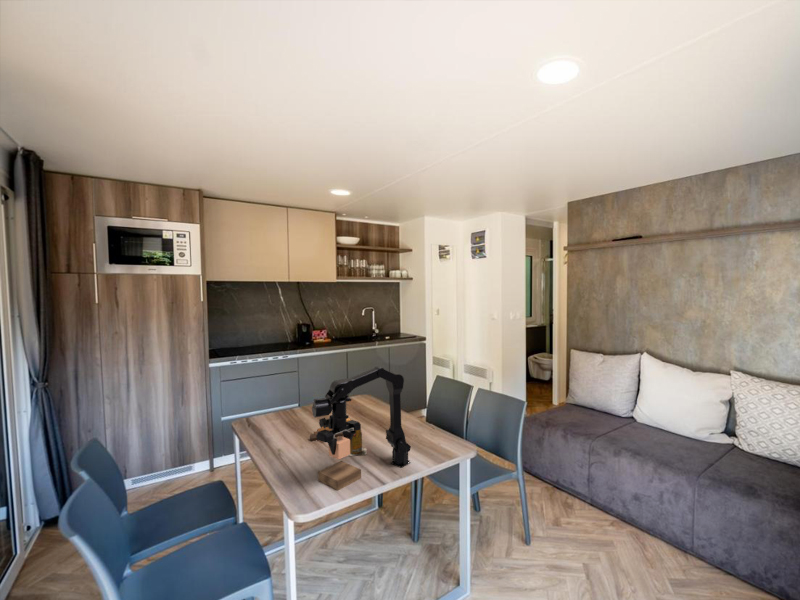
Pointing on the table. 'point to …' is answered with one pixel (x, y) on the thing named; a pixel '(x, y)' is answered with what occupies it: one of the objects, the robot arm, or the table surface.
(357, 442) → the condiment
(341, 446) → the terracotta cube
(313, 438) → the pan flute
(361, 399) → the table surface
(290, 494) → the table surface
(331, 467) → the walnut block
